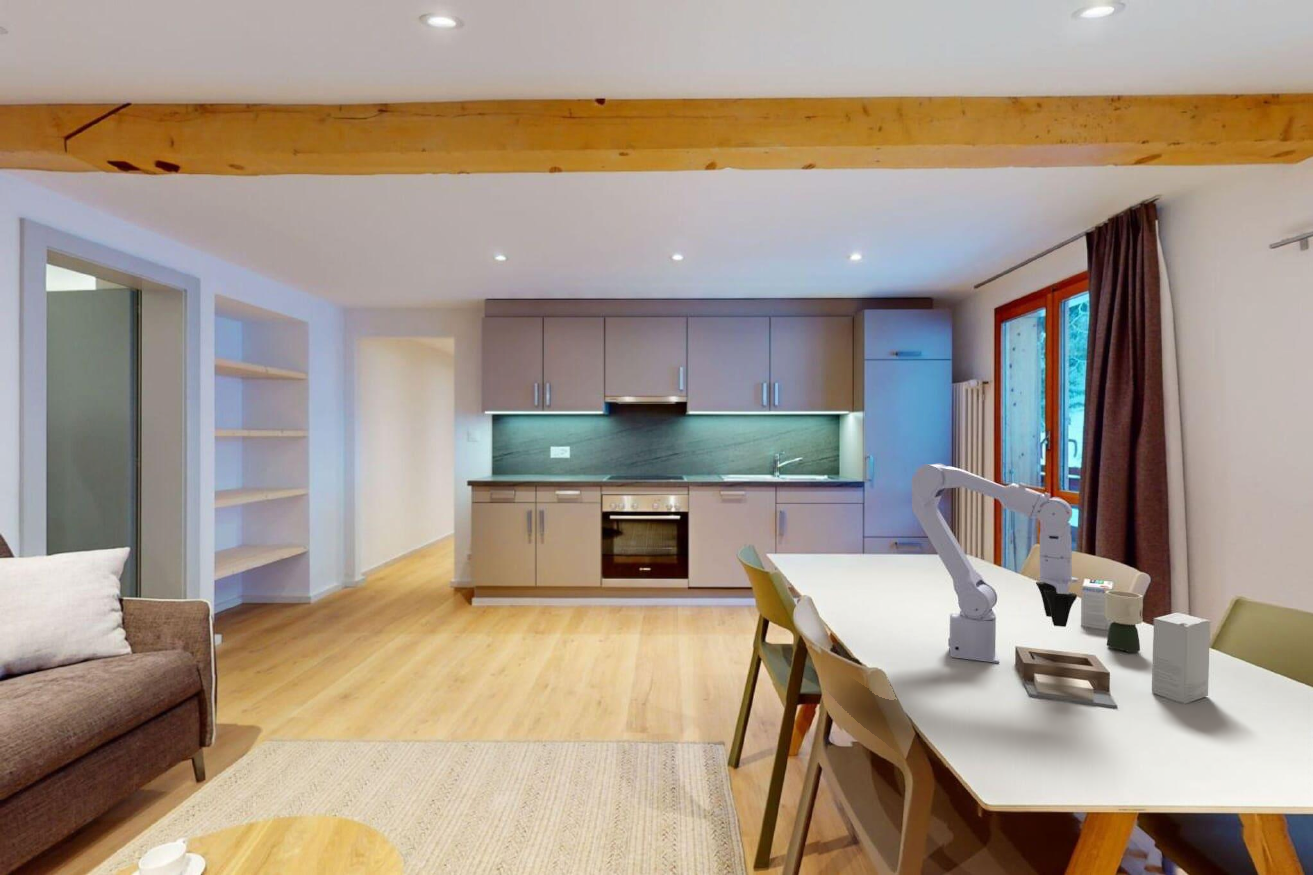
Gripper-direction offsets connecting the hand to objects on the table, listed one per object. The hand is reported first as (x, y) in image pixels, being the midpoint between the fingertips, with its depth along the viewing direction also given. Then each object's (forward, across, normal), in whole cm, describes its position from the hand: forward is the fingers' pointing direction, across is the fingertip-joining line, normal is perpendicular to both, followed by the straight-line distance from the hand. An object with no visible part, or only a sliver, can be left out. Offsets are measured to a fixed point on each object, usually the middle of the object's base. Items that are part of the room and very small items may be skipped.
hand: (1055, 621), depth 138 cm
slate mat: (+10, -14, 0) cm, 18 cm away
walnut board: (+10, -4, 0) cm, 11 cm away
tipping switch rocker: (+8, -4, 0) cm, 9 cm away
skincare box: (+11, -6, -20) cm, 23 cm away
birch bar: (+10, -14, +1) cm, 17 cm away
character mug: (+11, +22, -18) cm, 30 cm away
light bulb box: (+11, +45, -18) cm, 50 cm away
